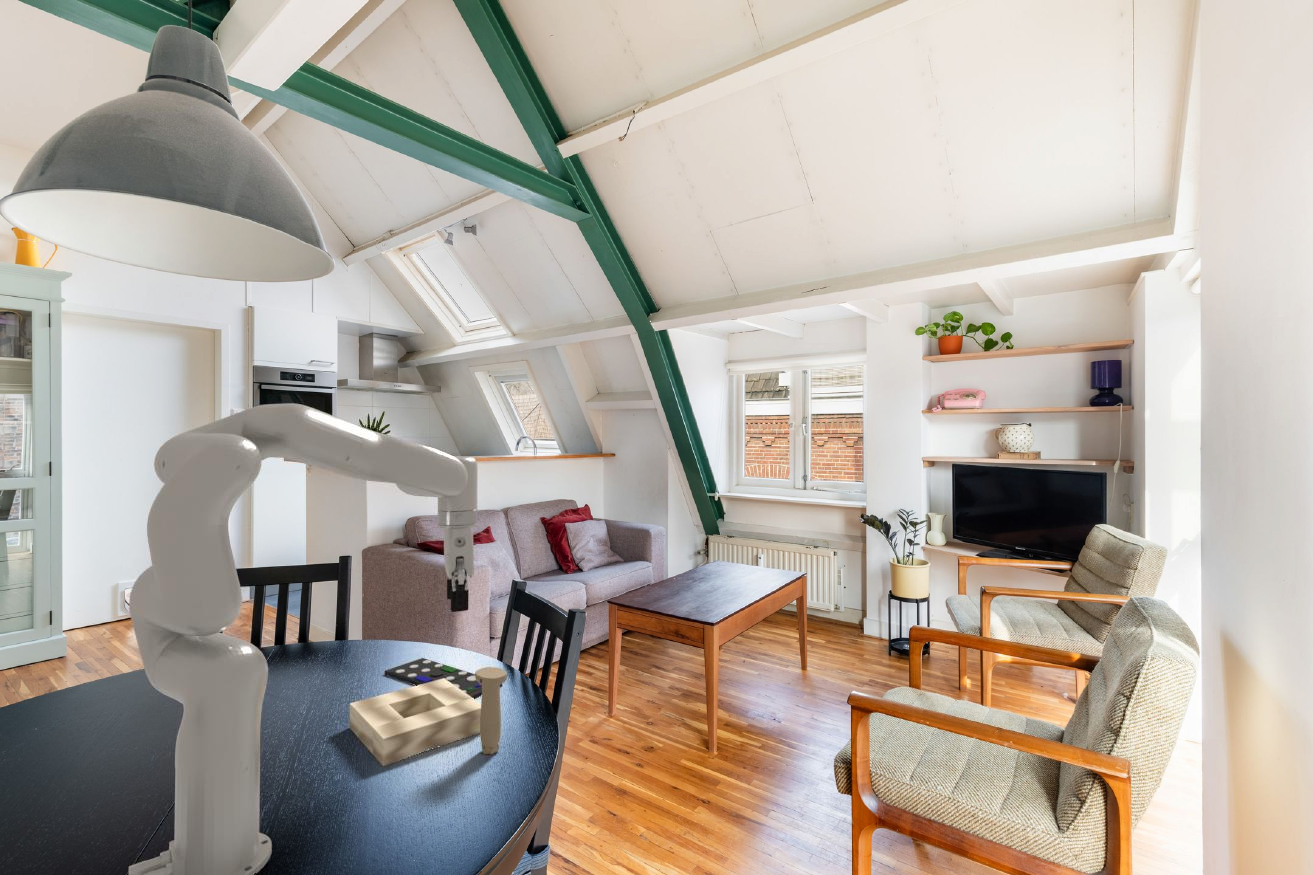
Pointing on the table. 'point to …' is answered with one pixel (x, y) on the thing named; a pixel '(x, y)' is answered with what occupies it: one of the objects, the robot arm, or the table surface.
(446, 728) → the socket block
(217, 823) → the robot arm
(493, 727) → the handle
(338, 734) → the table surface
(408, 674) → the remote control
